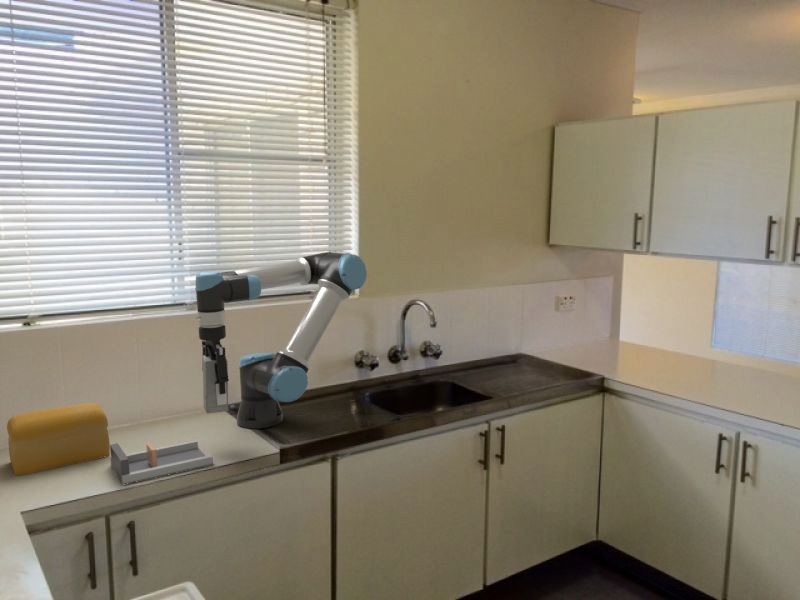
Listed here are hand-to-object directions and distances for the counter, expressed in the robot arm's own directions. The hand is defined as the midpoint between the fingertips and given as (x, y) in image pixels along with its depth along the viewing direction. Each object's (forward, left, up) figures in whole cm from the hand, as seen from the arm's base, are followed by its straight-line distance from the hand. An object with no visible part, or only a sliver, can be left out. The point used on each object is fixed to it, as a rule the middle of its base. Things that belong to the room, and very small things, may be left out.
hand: (216, 400), depth 197 cm
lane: (+17, +3, -15) cm, 23 cm away
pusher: (+20, +3, -14) cm, 25 cm away
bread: (+40, -19, -15) cm, 47 cm away
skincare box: (0, 0, -3) cm, 3 cm away
